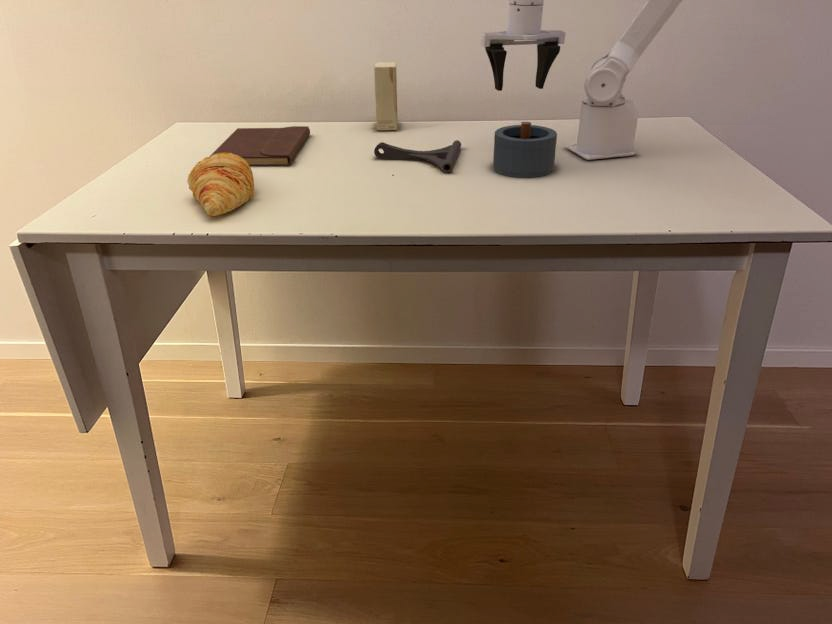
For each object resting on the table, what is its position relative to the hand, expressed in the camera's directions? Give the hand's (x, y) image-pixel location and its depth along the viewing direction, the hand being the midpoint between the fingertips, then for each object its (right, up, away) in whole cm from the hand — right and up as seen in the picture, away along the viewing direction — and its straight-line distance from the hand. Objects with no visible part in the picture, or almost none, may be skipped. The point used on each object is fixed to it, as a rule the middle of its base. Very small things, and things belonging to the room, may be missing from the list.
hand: (518, 88), depth 125 cm
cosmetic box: (-24, 0, +20) cm, 31 cm away
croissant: (-49, -23, -15) cm, 56 cm away
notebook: (-47, -9, +8) cm, 49 cm away
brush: (0, -15, -5) cm, 16 cm away
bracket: (-18, -13, +1) cm, 22 cm away
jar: (0, -16, -5) cm, 16 cm away
